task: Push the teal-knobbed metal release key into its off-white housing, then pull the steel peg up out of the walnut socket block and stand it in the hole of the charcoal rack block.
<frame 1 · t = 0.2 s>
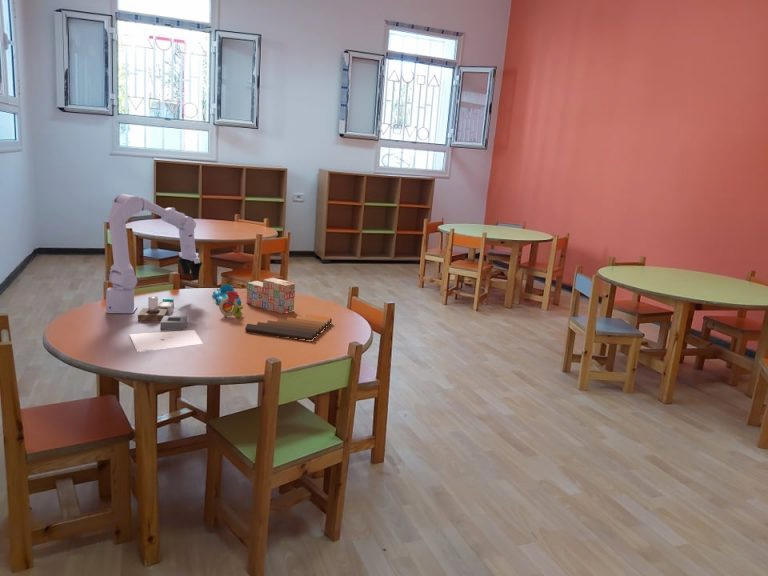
hand: (191, 276, 239), 10 cm above the table, tool pointing down, fingers open, 7 cm apart
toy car: (226, 301, 246), on the table
pan flute: (290, 329, 215), on the table
bird rattle: (231, 317, 223), on the table
socket block: (153, 318, 213), on the table
stack of blocks: (269, 308, 240), on the table
rack block: (174, 325, 206), on the table
release key: (167, 304, 225), point 2 cm above the table, slide at 0.0 cm
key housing: (165, 312, 221), on the table
paper sheet: (169, 348, 186), on the table
steel peg: (153, 307, 212), in the socket block
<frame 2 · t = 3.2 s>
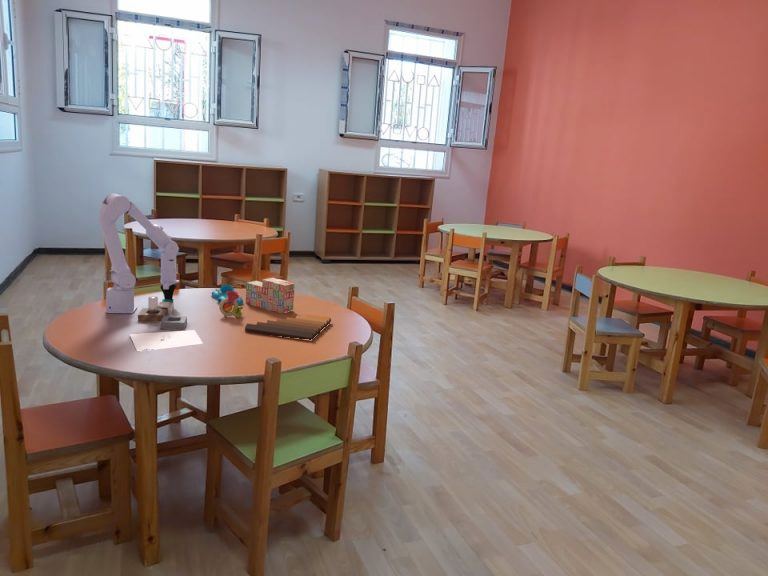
hand: (168, 302, 229), 1 cm above the table, tool pointing down, fingers closed
release key: (166, 304, 225), point 2 cm above the table, slide at 0.6 cm, touching gripper
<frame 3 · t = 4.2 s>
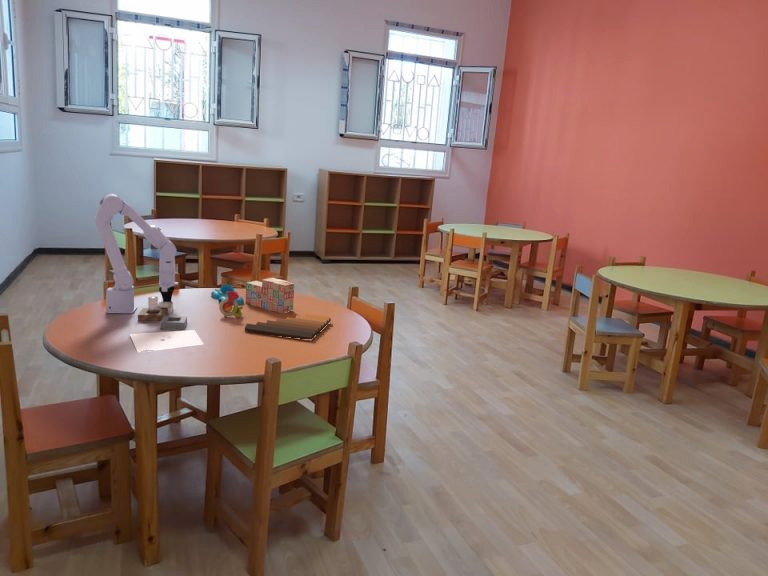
hand: (167, 305, 226), 1 cm above the table, tool pointing down, fingers closed
release key: (165, 307, 221), point 2 cm above the table, slide at 4.3 cm, touching gripper
everything else where it was.
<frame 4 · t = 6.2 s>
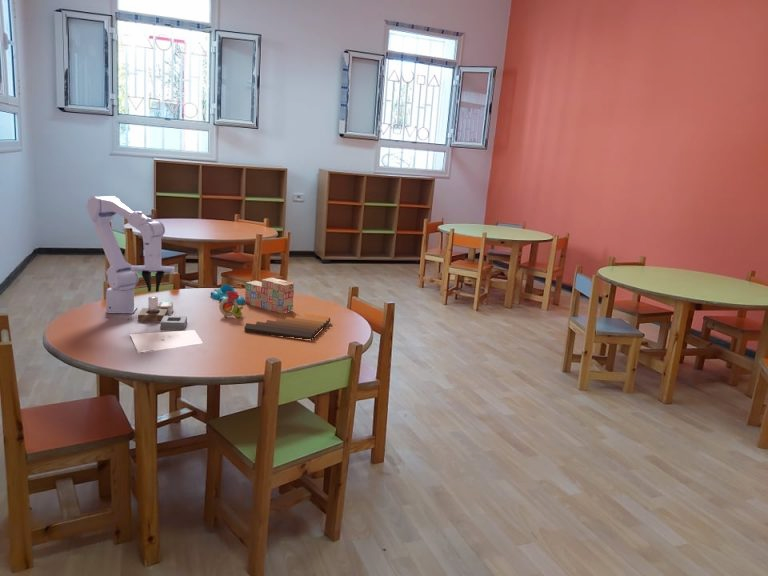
hand: (153, 291, 210), 10 cm above the table, tool pointing down, fingers closed
release key: (165, 307, 221), point 2 cm above the table, slide at 4.3 cm
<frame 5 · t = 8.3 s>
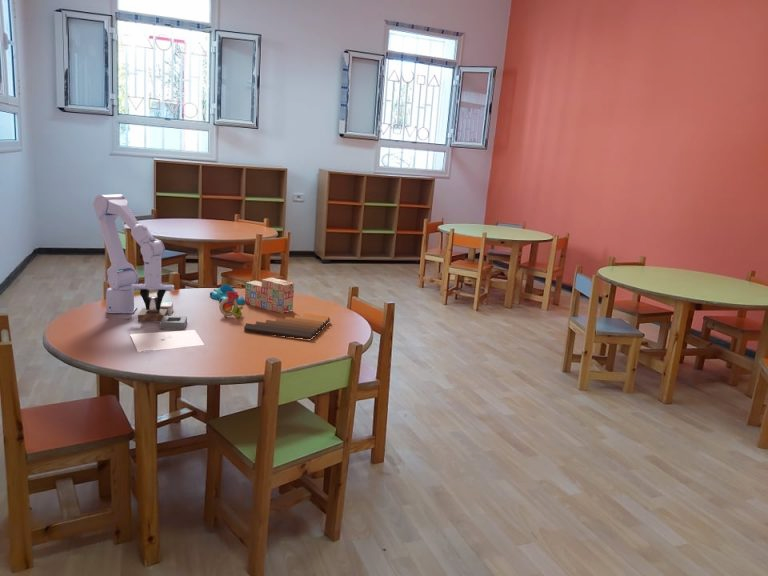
hand: (153, 309, 212), 3 cm above the table, tool pointing down, fingers closed on steel peg, 3 cm apart
steel peg: (153, 307, 212), in the socket block, touching gripper
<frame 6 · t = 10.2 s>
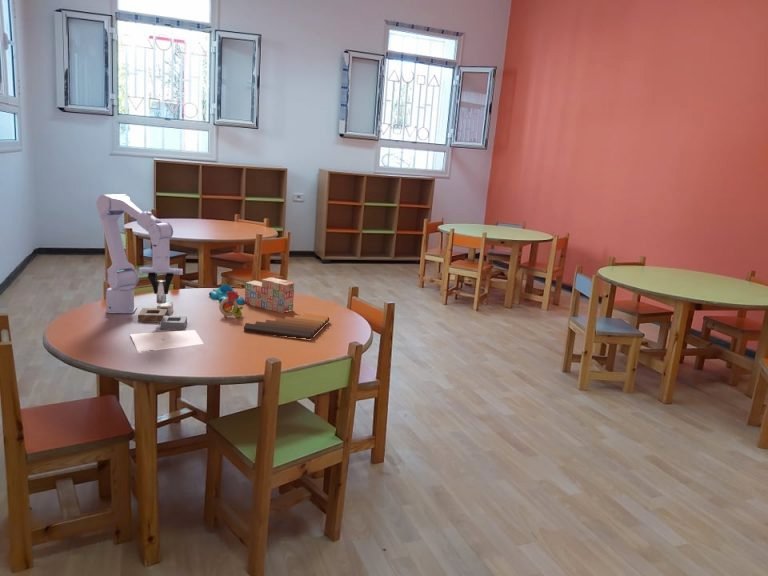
hand: (161, 293, 208), 11 cm above the table, tool pointing down, fingers closed on steel peg, 3 cm apart
steel peg: (161, 291, 207), point 11 cm above the table, touching gripper
when the fingers open (4 cm above the table, at t = 12.5 s): steel peg drops 1 cm, resting in rack block.
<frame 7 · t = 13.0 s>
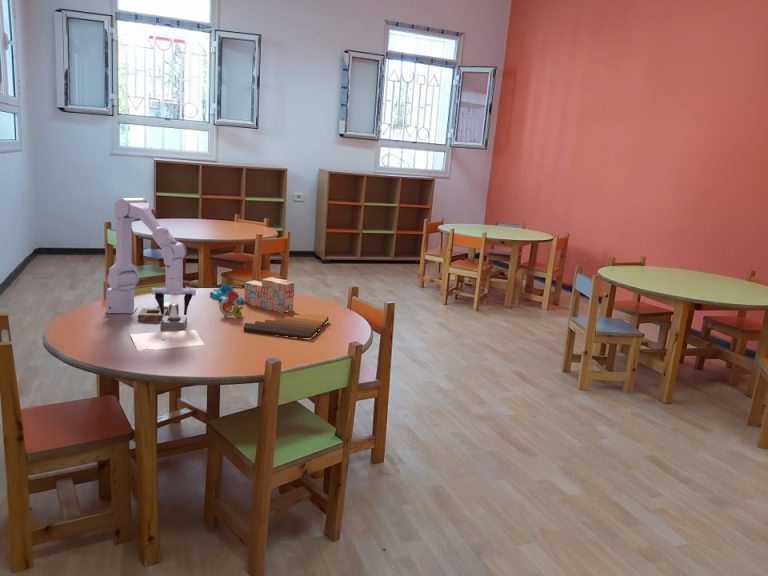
hand: (174, 314, 205), 4 cm above the table, tool pointing down, fingers open, 7 cm apart
steel peg: (173, 315, 205), in the rack block
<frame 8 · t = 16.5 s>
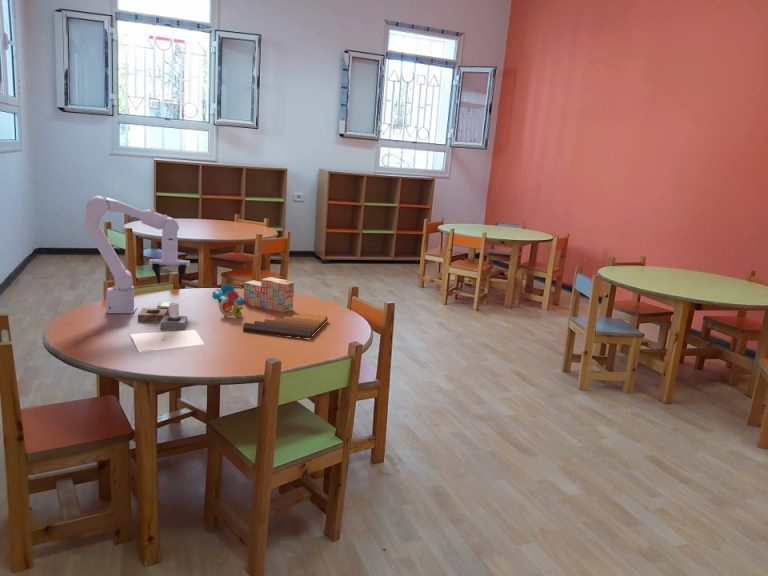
hand: (169, 283, 223), 10 cm above the table, tool pointing down, fingers open, 7 cm apart
at the end: release key slide at 4.3 cm; steel peg 0.0 cm off-centre on the rack block, point 4.0 cm above the rack block's base; steel peg tilted 0° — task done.
